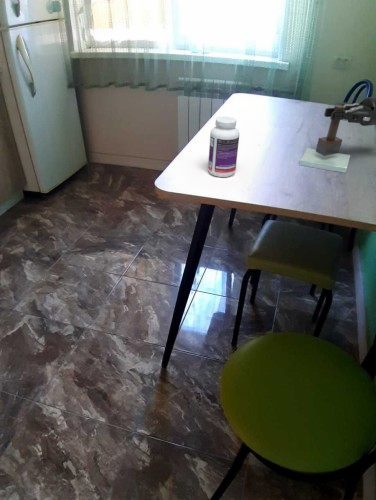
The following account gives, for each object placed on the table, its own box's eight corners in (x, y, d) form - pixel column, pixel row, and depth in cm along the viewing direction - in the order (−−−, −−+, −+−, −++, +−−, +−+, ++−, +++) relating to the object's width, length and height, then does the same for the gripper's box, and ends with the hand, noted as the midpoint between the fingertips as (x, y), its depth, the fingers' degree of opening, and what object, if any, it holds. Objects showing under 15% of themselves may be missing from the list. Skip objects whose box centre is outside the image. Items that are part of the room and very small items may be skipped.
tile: (349, 159, 132) (350, 155, 131) (345, 173, 124) (347, 168, 123) (305, 152, 135) (306, 147, 134) (299, 165, 127) (300, 160, 126)
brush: (329, 148, 130) (341, 103, 121) (338, 153, 127) (351, 106, 118) (315, 151, 128) (326, 105, 119) (324, 156, 125) (336, 109, 116)
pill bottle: (240, 173, 121) (247, 119, 111) (224, 180, 116) (229, 126, 106) (218, 165, 124) (223, 113, 114) (202, 172, 120) (205, 119, 110)
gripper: (367, 90, 126) (318, 93, 121) (398, 103, 116) (346, 106, 112) (359, 117, 131) (312, 120, 127) (388, 131, 122) (338, 135, 117)
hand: (328, 114), depth 119 cm, fingers closed on brush, 2 cm apart
